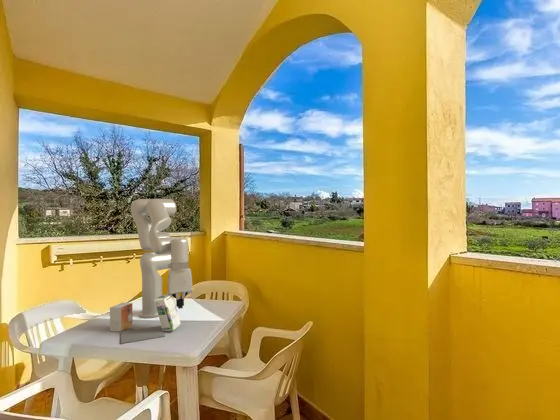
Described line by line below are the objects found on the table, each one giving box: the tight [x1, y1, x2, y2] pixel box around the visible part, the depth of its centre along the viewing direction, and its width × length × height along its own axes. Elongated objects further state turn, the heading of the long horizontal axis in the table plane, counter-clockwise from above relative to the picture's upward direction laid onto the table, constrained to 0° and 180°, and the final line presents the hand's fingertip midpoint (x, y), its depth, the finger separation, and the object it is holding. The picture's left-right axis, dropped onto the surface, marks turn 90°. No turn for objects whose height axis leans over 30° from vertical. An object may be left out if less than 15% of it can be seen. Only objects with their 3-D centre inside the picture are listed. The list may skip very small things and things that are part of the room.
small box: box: [109, 302, 133, 333], centre depth 142 cm, size 8×6×10 cm
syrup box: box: [154, 294, 181, 332], centre depth 138 cm, size 6×6×14 cm
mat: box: [120, 325, 165, 345], centre depth 134 cm, size 14×16×1 cm
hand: (180, 307), depth 141 cm, fingers closed
